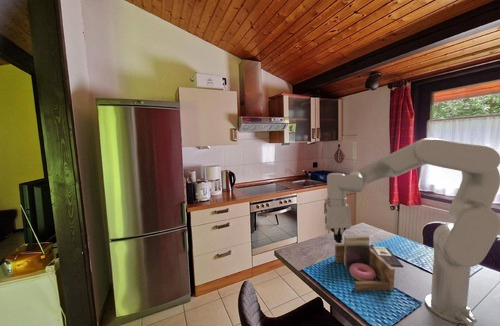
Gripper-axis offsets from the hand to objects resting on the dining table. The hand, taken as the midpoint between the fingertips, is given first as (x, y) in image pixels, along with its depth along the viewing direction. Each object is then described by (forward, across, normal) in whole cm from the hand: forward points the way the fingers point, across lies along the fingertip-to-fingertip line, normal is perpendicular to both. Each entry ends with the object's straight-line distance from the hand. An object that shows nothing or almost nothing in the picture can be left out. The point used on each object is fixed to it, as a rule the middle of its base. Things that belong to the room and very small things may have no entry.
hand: (338, 241), depth 95 cm
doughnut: (+18, +11, +2) cm, 22 cm away
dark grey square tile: (+18, +12, +8) cm, 23 cm away
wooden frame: (+18, +12, +3) cm, 22 cm away
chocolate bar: (+19, +32, +17) cm, 41 cm away
